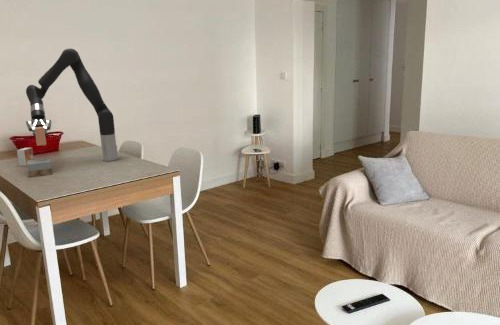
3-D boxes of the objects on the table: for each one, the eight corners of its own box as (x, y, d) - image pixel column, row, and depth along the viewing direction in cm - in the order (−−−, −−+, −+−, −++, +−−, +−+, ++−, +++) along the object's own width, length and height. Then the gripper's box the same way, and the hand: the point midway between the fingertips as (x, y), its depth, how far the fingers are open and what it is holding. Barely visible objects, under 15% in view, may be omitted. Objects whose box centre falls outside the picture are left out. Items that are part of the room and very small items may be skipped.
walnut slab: (51, 170, 258) (50, 164, 257) (52, 175, 248) (51, 168, 247) (29, 173, 253) (28, 167, 252) (29, 178, 243) (28, 171, 242)
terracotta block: (46, 143, 252) (44, 126, 250) (46, 144, 247) (44, 128, 245) (36, 144, 250) (34, 127, 247) (36, 145, 245) (34, 128, 243)
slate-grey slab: (50, 164, 257) (49, 158, 256) (51, 168, 247) (50, 161, 246) (28, 167, 252) (27, 160, 251) (28, 171, 242) (27, 164, 241)
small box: (26, 166, 271) (23, 150, 269) (18, 165, 272) (16, 149, 270) (35, 163, 279) (32, 147, 277) (27, 163, 280) (25, 147, 278)
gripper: (23, 109, 248) (25, 132, 240) (50, 108, 254) (53, 130, 247) (25, 117, 254) (27, 140, 246) (51, 116, 260) (54, 138, 252)
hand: (40, 135), depth 246 cm, fingers closed on terracotta block, 5 cm apart
